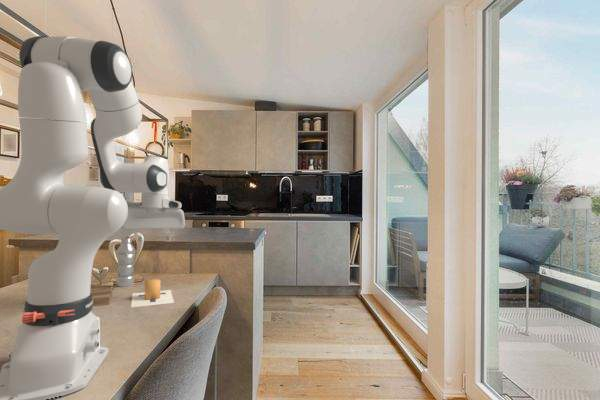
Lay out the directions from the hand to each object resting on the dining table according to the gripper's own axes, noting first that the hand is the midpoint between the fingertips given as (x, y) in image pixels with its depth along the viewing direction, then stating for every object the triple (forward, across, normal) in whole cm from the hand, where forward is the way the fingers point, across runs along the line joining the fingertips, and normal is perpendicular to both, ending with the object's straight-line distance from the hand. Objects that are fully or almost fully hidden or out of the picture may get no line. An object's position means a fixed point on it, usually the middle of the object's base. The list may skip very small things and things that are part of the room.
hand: (153, 241), depth 111 cm
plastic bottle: (+21, -9, +21) cm, 31 cm away
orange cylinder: (+20, 0, 0) cm, 20 cm away
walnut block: (+21, -17, +2) cm, 27 cm away
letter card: (+21, 0, 0) cm, 21 cm away
